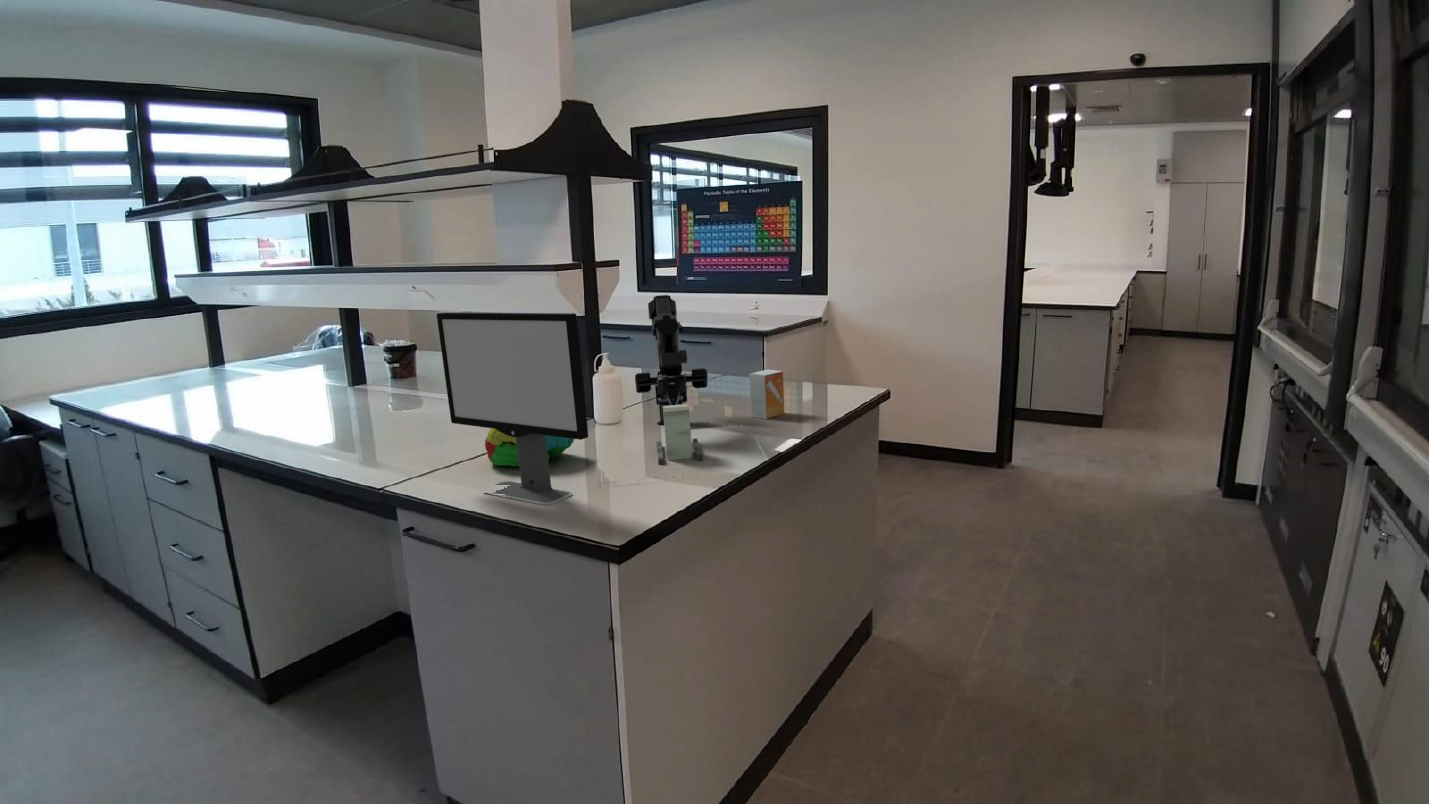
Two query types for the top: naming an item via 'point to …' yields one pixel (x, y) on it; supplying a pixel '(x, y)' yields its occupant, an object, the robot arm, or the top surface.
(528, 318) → the computer monitor
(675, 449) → the sage block
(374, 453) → the top surface
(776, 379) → the small box
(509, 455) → the brain model
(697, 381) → the robot arm
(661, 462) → the walnut chute
